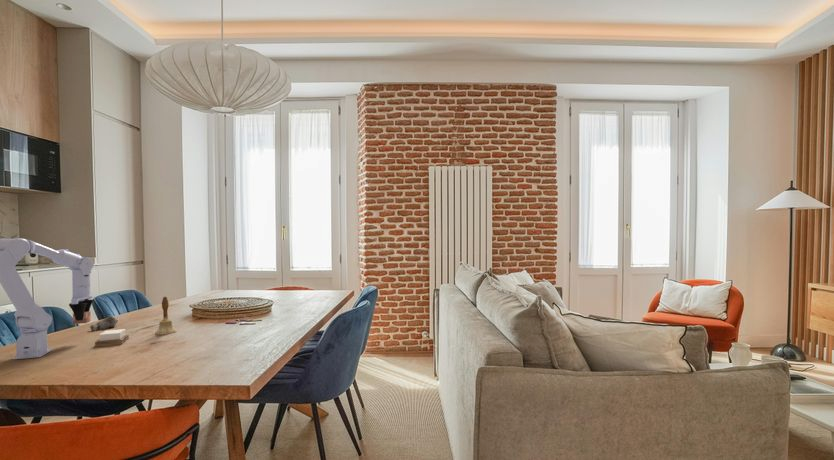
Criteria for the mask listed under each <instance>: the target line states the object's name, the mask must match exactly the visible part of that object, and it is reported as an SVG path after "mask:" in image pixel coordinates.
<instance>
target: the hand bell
mask: <svg viewBox="0 0 834 460" xmlns="http://www.w3.org/2000/svg"><path fill="white" fill-rule="evenodd" d="M161 308H162V311H163V313H162V315H163V317H162V319H161V320H160V321H159V326H158V328H157V330H156V331H155V332H154V335H157V336H160V335H162V336H163V335H171V334H174V333H177V329H176V328H175V326H173V323H172V319H171V318H169V316H168V314H169V313H168V309H169V300H168V298H167V296H163V297H162V300H161Z"/></svg>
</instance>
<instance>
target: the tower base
mask: <svg viewBox="0 0 834 460" xmlns="http://www.w3.org/2000/svg"><path fill="white" fill-rule="evenodd" d="M129 336H130V335H129V334H125V336H124V337H122V338H121V339H116V340H104V341H99V339H97V340H96V341H94V347H95V348H98V347H99V346H100V347H110V346H120V345H124V344H125V343H126V342H127V341H128V340H130V339H129V338H130V337H129Z"/></svg>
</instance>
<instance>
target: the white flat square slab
mask: <svg viewBox="0 0 834 460" xmlns="http://www.w3.org/2000/svg"><path fill="white" fill-rule="evenodd" d="M125 335H126V328H123V329H121V328H120V329H108V330H104V331H103V332H101V333H100V334H98V338H99V339H98V340H99V341H104V340H116V339H121V338H122V337H124V336H125Z"/></svg>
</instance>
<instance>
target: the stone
mask: <svg viewBox="0 0 834 460" xmlns="http://www.w3.org/2000/svg"><path fill="white" fill-rule="evenodd" d="M116 324H118V319H117V318H116V317H114V316H111V315H109V316H107V317H105V318H104V319H102V320H99V321H97V323H95V324H93V323H92V324H91V325H90V330H91V331H93V332H95V331H97V330H106V329H110V327H111V328H114V327H115V326H116Z"/></svg>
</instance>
